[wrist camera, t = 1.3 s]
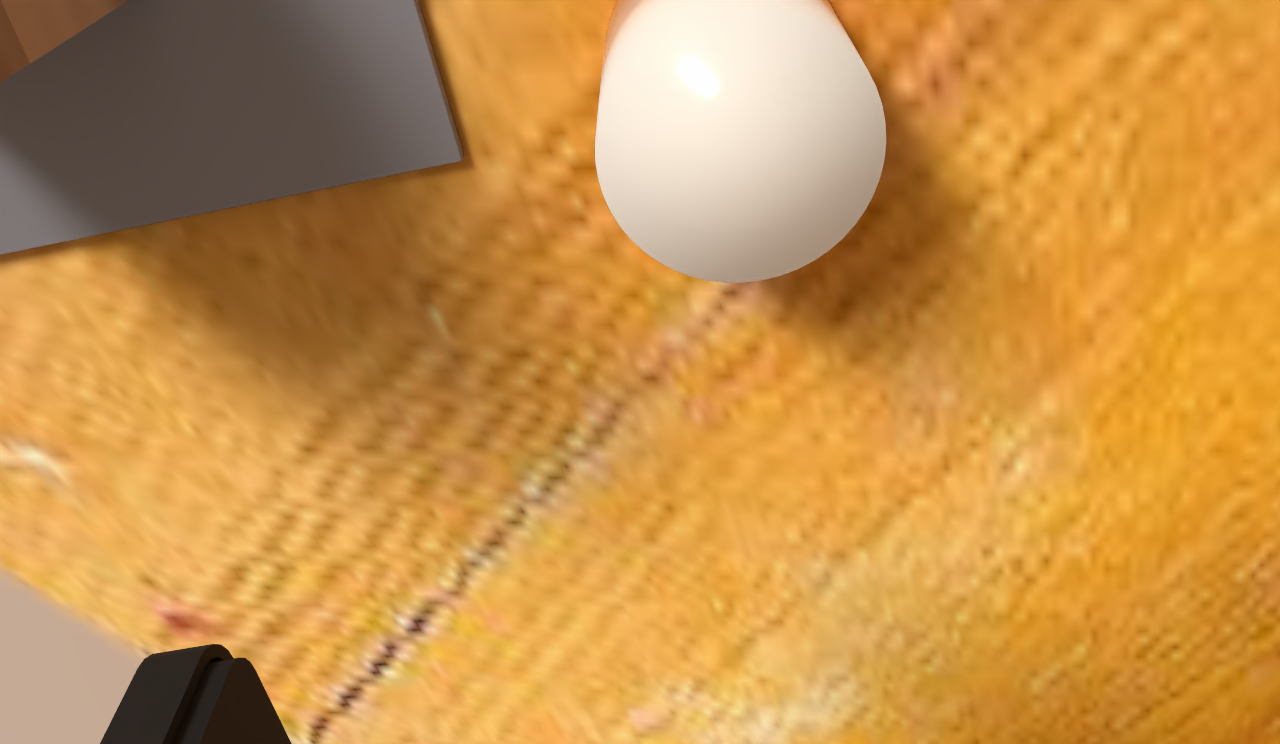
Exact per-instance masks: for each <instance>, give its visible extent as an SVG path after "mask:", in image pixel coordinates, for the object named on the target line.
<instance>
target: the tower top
mask: <svg viewBox="0 0 1280 744" xmlns="http://www.w3.org/2000/svg"><path fill="white" fill-rule="evenodd" d="M29 64H30V62H29V60H28V58H27V56H26V54H25V51H24V49H23V47H22V45H21V43H20V41H19V39H18V36H17V34H16V32H15V30H14V28H13V26H12V24H11V22H10V19H9V17H8V15H7V13H6V11H5V9H4V7H3V4H2V2H1V0H0V83H1V82H2V81H4V80H6V79H7V78H9V77H10V76H12V75H13V74H15V73H16V72H18V71H20V70H21V69H23V68H24V67H26V66H27V65H29Z"/></svg>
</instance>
